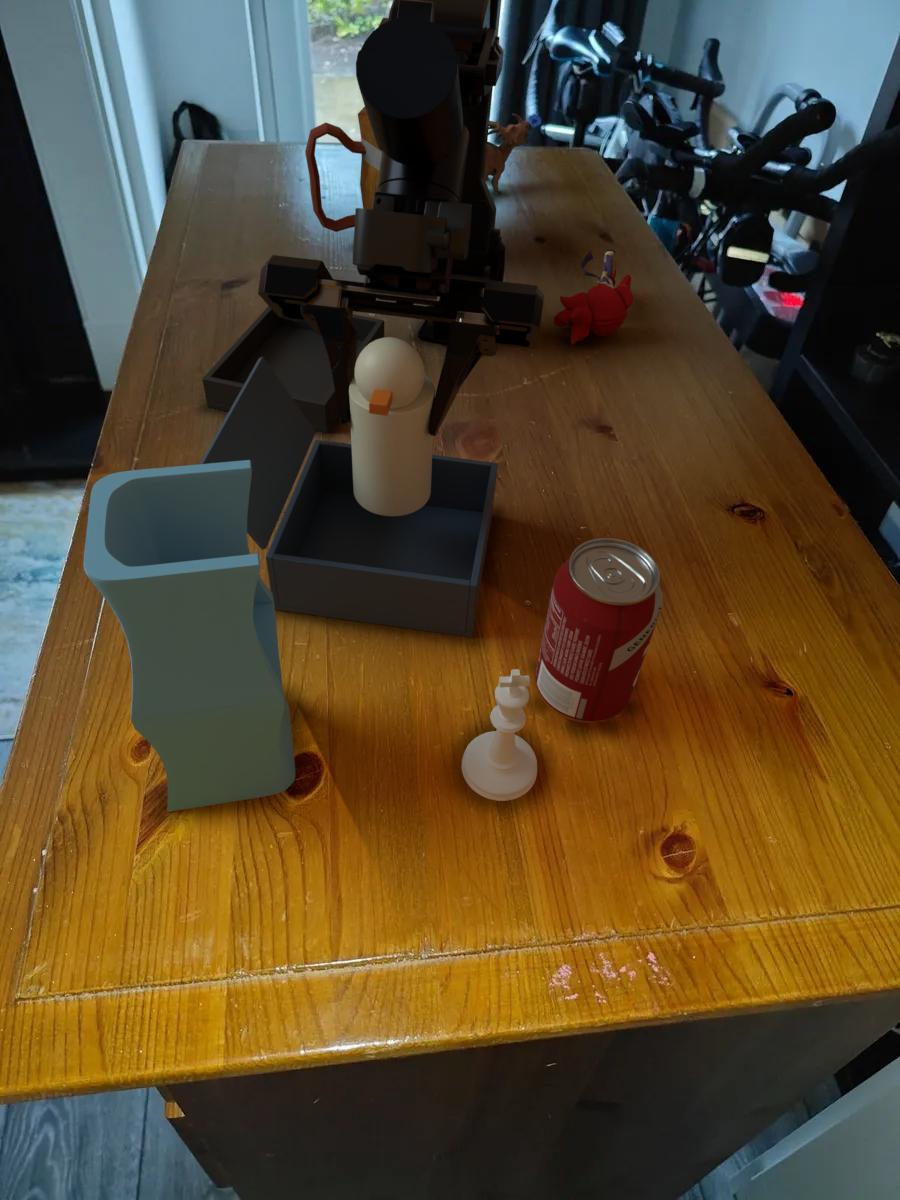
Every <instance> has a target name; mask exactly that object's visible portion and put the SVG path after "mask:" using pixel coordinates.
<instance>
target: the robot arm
mask: <svg viewBox="0 0 900 1200" xmlns="http://www.w3.org/2000/svg"><path fill="white" fill-rule="evenodd" d="M501 9H502V0H392V3H391V6H390V9H389V14H388V17H382V18H381V20H380V22H379V24H378V27H377V28H375V29H374V30H373V31H372V32H371V33H370V34H369V35H368V36H367V38H366V39H365V40H364V42H363V44H362V46H361V48H360V49H359V51H358V52H357V56H356V62H355V77H356V81H357V84H358V88H359V91H360V95H361V98H362V101H363V105H364V106H365V108H366V112H367V115H368V118H369V121H370V125H371V128H372V131H373V134H374V138H375V141H376V144H377V146H378V148H379V149H380V150H382V155H381V162H380V170H379V178H378V185H377V192H375V197H374V199H373V206H372V209H363V207H362V208H361V207H359V208H358V207H355V209H354V210H355V211H354V213H355V214H354V215H355V227H353V228H354V229H353V245H352V248H353V249H352V265H354V266H356V270H357V272H358V274H359V275H360V276H365V277H364V278H365V279H364V282H362V281H361V282H360V281H352V280H343V279H335V278H333V276H332V275H331V273H330V271H329V269H328V267H327V266H326V265H325V263H324V261H323V260H321V259H313V258H303V257H294V256H286V255H285V256H284V255H277V254H272V255H271V256H270V257H269V259H267V260H266V262H265V263H264V264H263V266H262V267H261V269H260V273H259V275H260V276H259V283H258V290H257V294H258V296H259V297H260V298H261V299H262V300H263V301H264V303H265V304H266V305H267V306H269V307H270V308H271V309H272V310H273V311H274V312H275V313H276V314H277V316H278V317H281V318H283V319H286V320H292V321H300V322H307V323H308V324H309V325H310V326H311V328H312V329H313V330H314V331H315V333H316V334H318V335H321V336H322V338H323V341H324V344H325V348H326V351H327V354H328V358H329V362H330V366H331V371H332V377H333V382H334V388H335V393H336V399H337V404H338V410H339V420H340V423H341V424H342V425H344V426H349V425H350V402H349V386H350V383H351V381H352V380H353V378H354V377H355V375H354V374H355V364H356V353H357V337H358V333H357V332H356V330H355V329H354V327H353V325H352V324H351V322H350V321H349V320H350V317H352V315H353V314H354V312H357V313H365V314H372V315H373V314H374V315H383V316H389V317H390V316H391V317H397V318H398V317H399V318H408V319H416V320H424V322H423V323H422V325H421V326H420V327H419V330H418V331H417V334H416V335H417V338H418V339H420V340H425V341H430V342H434V343H439V344H445V345H446V349H445V355H444V358H443V363H442V367H441V370H440V375H439V380H438V383H437V387H436V390H435V399H434V403H433V407H432V411H431V419H430V428H429V434H430V436H433V437H436V436H437V434H438V432H439V431H440V429H441V426H442V424H443V422H444V421H445V419H446V417H447V414H448V413H449V410H450V409H451V407H452V405H453V403H454V402H455V401H454V400H455V399H456V397H457V395H458V393H459V391H460V389H461V388H462V386H463V385H464V383H465V381H466V380H467V378H468V377H469V376H470V374H471V372H473V370H474V368H475V367H476V365H477V364H478V362H479V361H480V360H481V358H482V357H495V356H496V355H497V348H498V347H497V346H499V347H508V348H517V349H525V350H532V349H538V343H539V339H540V338H539V337H540V330H541V323H542V316H543V308H544V302H545V301H544V300H545V295H544V294H543V292H542V290H541V289H540V288H539V286H538V285H535V284H526V283H519V282H518V283H517V282H508V281H504V277H505V276H504V275H505V265H506V244H505V243H504V242H503V239H502V237H503V236H502V235H501V232H502V231H501V228H498V227H496V218H497V206H496V203H495V201H494V199H493V196H492V193H491V191H490V189H489V187H488V184H487V181H486V182H485V179H484V171H485V161H486V151H487V141H488V142H489V140H488V139H489V135H488V132H489V131H490V129H489V127H490V126H489V121H491V120H490V119H491V108H492V100H493V99H492V98H493V89H494V87H496V86H497V83H498V81H499V78H500V76H501V74H502V70H503V67H504V66H503V65H504V55H505V54H504V49H503V47H502V46H501V44H500V41H501V40H500V39H501V38H500V36H499V28H500V17H501Z"/></svg>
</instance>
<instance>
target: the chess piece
mask: <svg viewBox="0 0 900 1200" xmlns="http://www.w3.org/2000/svg"><path fill="white" fill-rule="evenodd" d="M498 677H499V678H498V684H497V686H496V688H495V689H494V697H495V702H496V704H497V705H495V706H494V707H493V709H492V710H491V712H490V715H489V718H490V723H491V725H492V726H493V727H494V729H496V730H491V731H486V732H484V733H481V734H479V735H477V736H476V737H474V738H473V739H472V740H471V741H470V742H469V743H468V745H467V746H466V749H465V750H464V753H463V755H462V759H461V773H462V776H463V779H464V780H465V782H466V784H467V785H468V786H469V788H470V789H471V790H473V791H474V793H476V794H478V795H479V796H481V797H483V798H484V799H485V798H486V799H488V800H492V801H495V802H496V801H497V802H506V801H513V800H516V799H518V798H521V797H523V796H524V795H526V794H527V793H528V792H529V791H530V790H531V789H532V788H533V786H534V784H535V783H536V780H537V776H538V760H537V756H536V753H535V751H534V749H533V748H532V747H531V745H530V744H529V743H528V742H527V741H526V740H525V739H523V738H522V737H521V736H519V735H517V734H516V733H517V732H519V731H521V730H522V729H523V728H524V727H525V725H526V721H527V720H526V714H525V712H524V711H525V710H524V708H525V707H526V705H527V703H528V702H529V700H530V691H529V689H528V687H530V683H531V681H530V676H529V675H521V672H520V668H517V669H516V668H515V669H511V670H510V676H498Z"/></svg>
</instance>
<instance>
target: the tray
mask: <svg viewBox="0 0 900 1200" xmlns="http://www.w3.org/2000/svg"><path fill="white" fill-rule="evenodd" d="M349 321H350V322H351V324H352V325H353V327H354V329H355V330H356V332H357V333H358V337H357V353H356V361H357V358H358V356H359V354H360V353H361V351H362V350H363V349H364V348H365V347H366V346H367V345H368V344H369V343H371V342H373V341H375V340H377V339H380V338H385V319H379V318H374V317H369V316H363V315H360V314H354V313H353V315H352V317H350V320H349ZM261 357H263V358H264V359H265V360H266V362H267V363H268V365H269V366H270V367H271V369H272V370H273V372H274V373H275V375H276V376H277V377H278V379H279V380H280V382H281V383H282V385H283V386H284V387H285V389H286V390H287V392H288V393H289V395H290V396H291V397H292V399H293V400H294V402H295V403H296V404H297V406H298V407H299V409H300V410H301V412H302V413H303V414H304V416H305V417H306V419H307V420H308V422H309V423H310V424H311V426H312V427H313V429H314V430H315V431H316V432H320V433H325V434H328V433H329V431H330V430H331V429H332V427H333V425H334V424H335V422H336V421H337V419H338V418H339V417H340V415H339V410H338V404H337V399H336V393H335V388H334V382H333V377H332V371H331V366H330V362H329V358H328V354H327V351H326V348H325V344H324V341H323V338H322V336H321V335H318V334H316V333H315V331H314V330H313V329H312V328H311V326H310V325H309V324H308V323H307V322H300V321H292V320H286V319H283V318H281V317H278V316H277V314H276V313H275V312H274V311H273V310H272V309H271V308H270V307H269V305H267V307H266V308H265V309H264V310H263V312H262V313H260V315H258V317H257V318H256V319H255V320H254V321H253V322H252V324H251V325H250V326H248V328H247V329H246V330H245V331H244V332H243V333H242V334H241V335H240V337H239V338H238V339H237V340H236V341H235V342H234V343H233V344H232V346H230V348H228V349H227V351H226V352H224V354H223V355H222V356H221V358H219V360H218V361H217V362H216V363H215V364H214V365H213V366H212V367H211V368H210V370H208V372H207V373H206V374H205V375H204V376H203V377H202V385H203V390H204V395H205V401H206V407H207V408H211V409H216V410H221V411H224V412H229V411H230V409H231V407H232V405H233V403H234V402H235V400H236V398H237V396H238V395H239V393H240V391H241V389H242V387H243V386H244V384H245V382H246V380H247V379H248V377H249V375H250V373H251V372H252V370H253V368H254V366H255V364H256V363H257V361H258V359H259V358H261Z"/></svg>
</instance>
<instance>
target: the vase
mask: <svg viewBox="0 0 900 1200" xmlns="http://www.w3.org/2000/svg"><path fill="white" fill-rule="evenodd" d="M251 476H252V468H251V461H250V460H243V461H232V462H221V463H210V464H200V463H199V464H189V465H188V464H187V465H177V466H166V467H155V468H144V469H143V468H142V469H134V470H133V469H132V470H125V471H118V472H113V473H110V474H108V475H105V476H104V477H102V478H100V479H98V480H97V481H96V482H95V483H94V484H93V486H92V488H91V491H90V498H89V505H88V515H87V525H86V534H85V542H84V543H85V544H84V553H83V570H84V573H85V574H86V576H87V577H88V579H89V580H90V582H91V583H92V584H93V586H94V587H95V588H96V589H97V590H98V592H99V593H100V594H101V596H102V597H103V598H104V600H105V601H106V603H107V604H108V605H109V607H110V609H111V610H112V612H113V613H114V615H115V617H116V618H117V620H118V622H119V623H120V625H121V628H122V632H123V633H124V636H125V638H126V643H127V646H128V652H129V657H130V666H131V667H130V668H131V704H130V705H131V707H130V721H131V723H132V725H133V728H134V730H135V731H136V732H137V733H138V734H140V735H141V736H142V738H144V740H146V741H147V742H148V744H150V746H151V747H152V748H153V749H154V751H155V752H156V753H157V755H158V756H159V758H160V760H161V763H162V765H163V767H164V772H165V775H166V776H165V777H166V784H167V785H166V786H167V813H170V812H177V811H182V810H183V811H184V810H189V809H196V808H201V807H208V806H215V805H221V804H227V803H233V802H234V803H235V802H239V801H240V802H241V801H244V800H245V801H246V800H253V799H259V798H264V797H269V796H274V795H277V794H281V793H283V792H285V791H286V790H288V789H289V787H291V786H292V784H293V783H294V781H295V779H296V762H295V751H294V743H293V735H292V734H293V733H292V723H291V714H290V713H291V712H290V706H289V703H288V701H287V699H286V696H285V694H284V688H283V687H284V686H283V680H282V668H281V659H280V648H279V639H278V630H277V629H278V628H277V618H276V617H277V616H276V610H275V607H274V600H273V593H272V592H271V588H269V587H268V586H267V584H266V583H265V582H264V580H263V579H262V577H261V575H260V572H261V559H260V554H259V553H251V552H250V551H251V550H250V547H249V545H248V544H249V543H248V542H249V541H248V533H247V514H248V502H249V493H250V485H251Z"/></svg>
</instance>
